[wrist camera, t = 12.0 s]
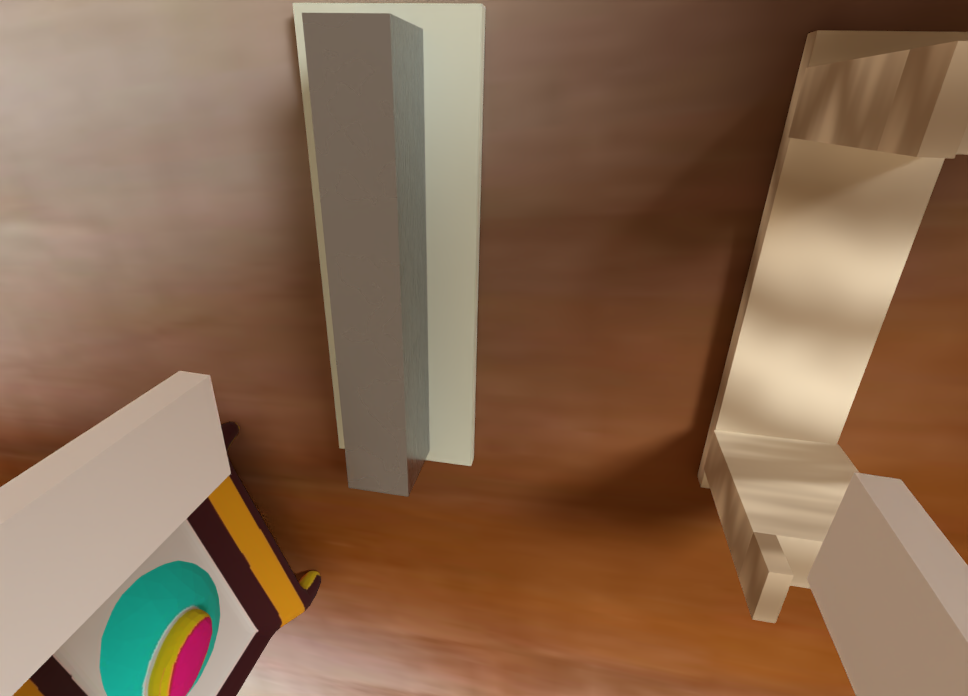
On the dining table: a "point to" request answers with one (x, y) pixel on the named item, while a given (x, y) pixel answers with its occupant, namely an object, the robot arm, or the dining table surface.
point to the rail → (374, 236)
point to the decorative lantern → (186, 609)
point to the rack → (825, 288)
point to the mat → (434, 208)
